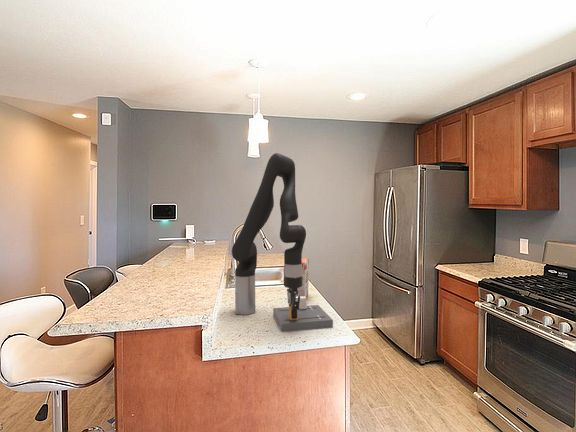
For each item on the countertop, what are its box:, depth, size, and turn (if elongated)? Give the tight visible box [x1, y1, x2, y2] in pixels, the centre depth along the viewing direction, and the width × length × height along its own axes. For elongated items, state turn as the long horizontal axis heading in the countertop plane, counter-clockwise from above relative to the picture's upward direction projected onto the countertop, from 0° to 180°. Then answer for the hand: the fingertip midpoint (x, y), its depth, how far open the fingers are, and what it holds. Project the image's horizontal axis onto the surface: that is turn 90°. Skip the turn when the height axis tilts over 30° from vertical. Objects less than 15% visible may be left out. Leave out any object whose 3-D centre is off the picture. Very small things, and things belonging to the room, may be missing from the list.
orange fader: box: [288, 305, 298, 320], centre depth 130 cm, size 3×3×5 cm
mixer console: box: [272, 304, 334, 333], centre depth 137 cm, size 21×20×3 cm
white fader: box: [299, 296, 308, 309], centre depth 143 cm, size 3×3×5 cm
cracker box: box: [298, 257, 310, 299], centre depth 167 cm, size 14×6×21 cm, turn 168°
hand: (293, 316), depth 130 cm, fingers closed on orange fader, 3 cm apart
